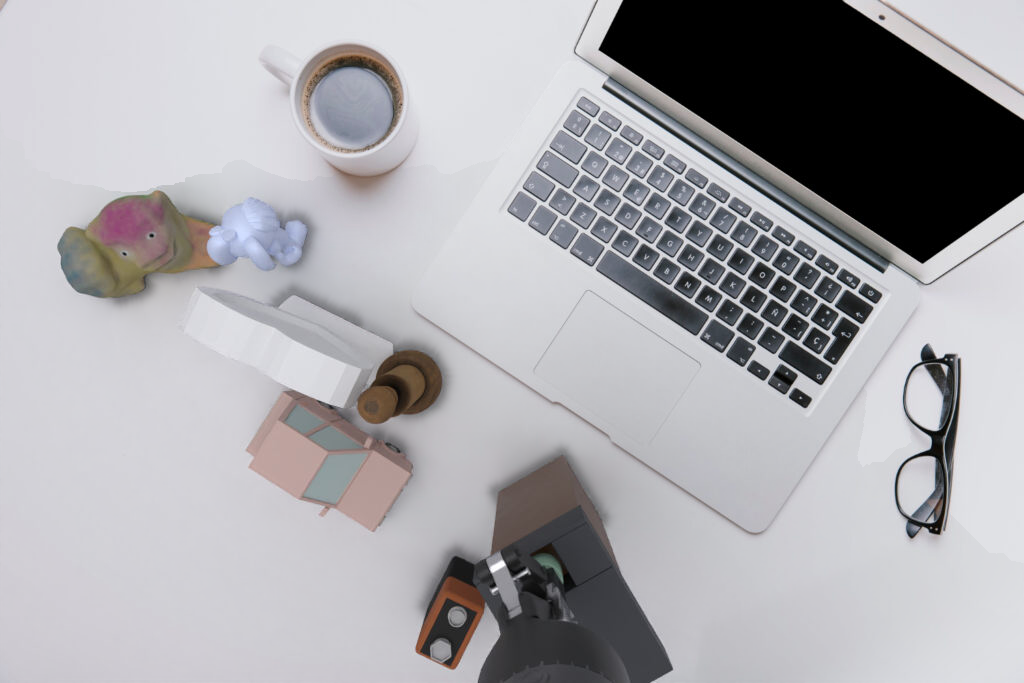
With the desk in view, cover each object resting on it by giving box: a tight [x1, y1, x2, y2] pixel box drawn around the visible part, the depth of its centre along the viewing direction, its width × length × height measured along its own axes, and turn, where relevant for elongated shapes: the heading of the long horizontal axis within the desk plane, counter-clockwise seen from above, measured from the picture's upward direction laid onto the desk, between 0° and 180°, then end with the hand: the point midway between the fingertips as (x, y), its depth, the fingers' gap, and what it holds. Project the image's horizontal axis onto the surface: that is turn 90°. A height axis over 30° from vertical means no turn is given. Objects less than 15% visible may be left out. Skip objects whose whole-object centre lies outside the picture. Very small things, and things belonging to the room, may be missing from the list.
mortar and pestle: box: [356, 349, 443, 425], centre depth 61 cm, size 7×6×18 cm
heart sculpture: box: [177, 286, 394, 409], centre depth 61 cm, size 16×5×18 cm, turn 64°
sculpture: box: [56, 189, 220, 299], centre depth 65 cm, size 15×8×10 cm, turn 114°
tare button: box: [533, 553, 563, 584], centre depth 47 cm, size 3×3×2 cm
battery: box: [414, 555, 486, 671], centre depth 66 cm, size 4×7×10 cm, turn 154°
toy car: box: [245, 389, 414, 533], centre depth 66 cm, size 9×15×10 cm, turn 57°
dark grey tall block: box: [473, 454, 674, 683], centre depth 59 cm, size 13×9×24 cm
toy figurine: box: [207, 196, 308, 272], centre depth 64 cm, size 7×6×12 cm
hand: (544, 582), depth 46 cm, fingers closed
